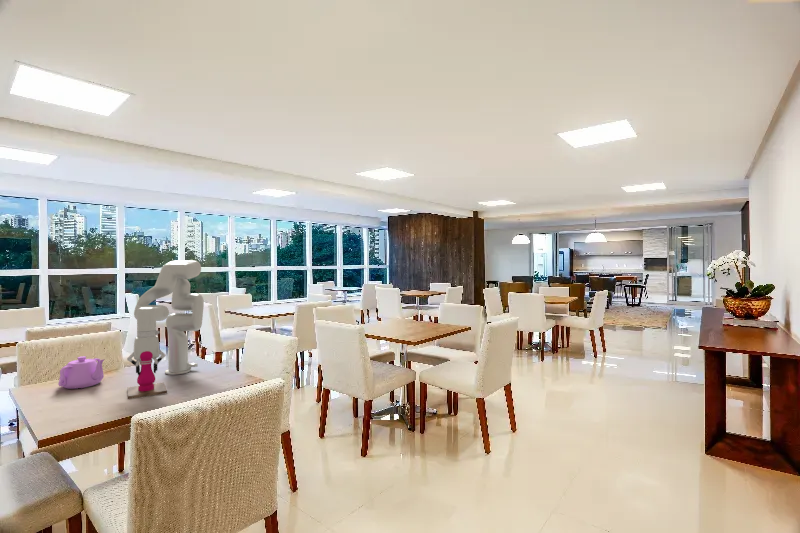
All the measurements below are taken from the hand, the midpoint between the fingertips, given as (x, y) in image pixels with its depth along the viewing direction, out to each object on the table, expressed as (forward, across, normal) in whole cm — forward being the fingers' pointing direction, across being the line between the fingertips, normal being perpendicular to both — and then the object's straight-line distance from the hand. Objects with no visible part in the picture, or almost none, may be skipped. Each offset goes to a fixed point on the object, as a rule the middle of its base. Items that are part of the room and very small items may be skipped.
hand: (146, 373), depth 196 cm
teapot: (+9, +24, -26) cm, 36 cm away
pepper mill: (+8, 0, 0) cm, 8 cm away
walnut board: (+9, 0, 0) cm, 9 cm away
